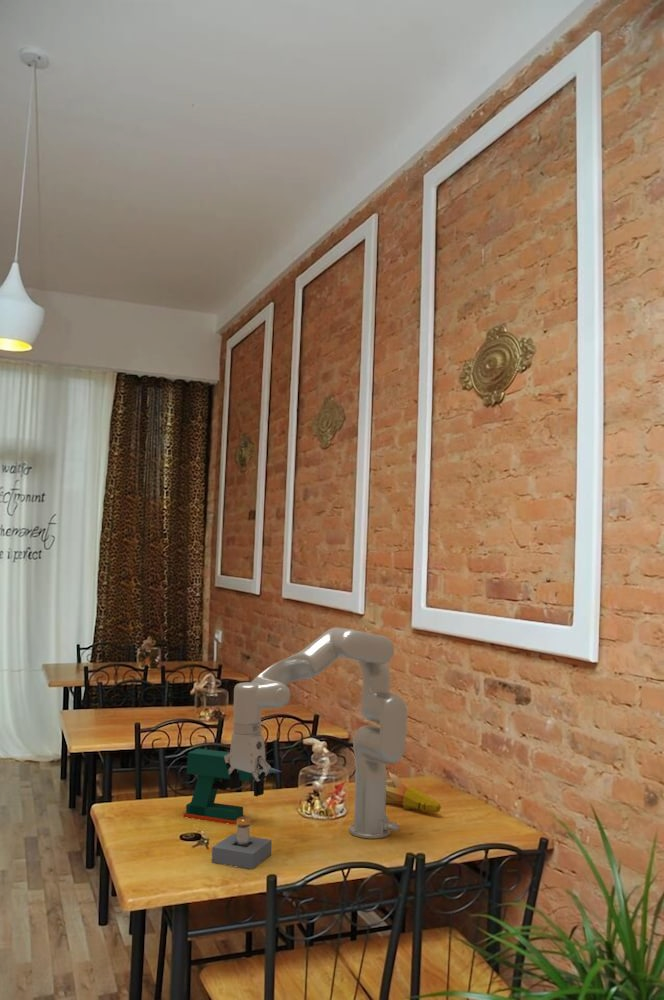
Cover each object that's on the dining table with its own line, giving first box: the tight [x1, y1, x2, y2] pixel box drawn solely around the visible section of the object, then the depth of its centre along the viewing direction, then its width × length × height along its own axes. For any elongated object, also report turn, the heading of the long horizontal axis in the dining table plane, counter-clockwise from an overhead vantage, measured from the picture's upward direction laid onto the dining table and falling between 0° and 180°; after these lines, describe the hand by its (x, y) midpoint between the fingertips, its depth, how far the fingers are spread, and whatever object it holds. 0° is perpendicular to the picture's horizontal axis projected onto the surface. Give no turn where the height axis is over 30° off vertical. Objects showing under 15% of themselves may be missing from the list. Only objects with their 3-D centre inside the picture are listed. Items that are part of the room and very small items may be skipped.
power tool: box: [183, 748, 283, 826], centre depth 250 cm, size 32×7×20 cm, turn 71°
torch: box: [386, 772, 442, 814], centre depth 268 cm, size 8×8×25 cm
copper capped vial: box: [236, 815, 252, 847], centre depth 218 cm, size 4×4×11 cm
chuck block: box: [211, 833, 273, 871], centre depth 218 cm, size 12×12×4 cm
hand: (246, 791), depth 219 cm, fingers open, 9 cm apart
